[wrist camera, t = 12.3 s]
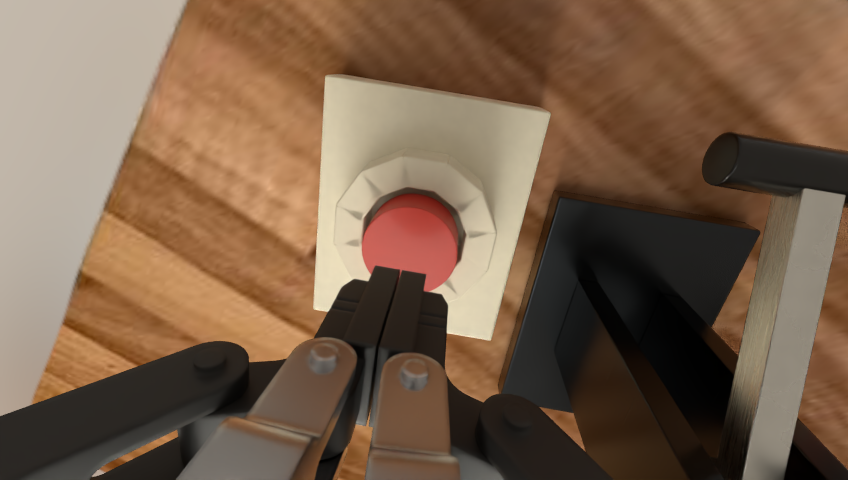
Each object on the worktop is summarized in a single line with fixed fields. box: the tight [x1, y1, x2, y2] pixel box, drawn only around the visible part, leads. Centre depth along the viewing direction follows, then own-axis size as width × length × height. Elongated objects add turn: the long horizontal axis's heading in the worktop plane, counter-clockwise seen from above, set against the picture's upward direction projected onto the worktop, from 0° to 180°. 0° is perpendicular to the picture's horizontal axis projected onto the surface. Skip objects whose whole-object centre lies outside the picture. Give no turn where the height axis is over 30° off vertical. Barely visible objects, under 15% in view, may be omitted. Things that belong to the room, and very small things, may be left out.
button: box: [362, 193, 458, 292], centre depth 16 cm, size 4×4×2 cm
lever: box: [702, 132, 848, 480], centre depth 11 cm, size 12×5×2 cm, turn 171°
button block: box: [313, 74, 551, 340], centre depth 18 cm, size 11×9×4 cm
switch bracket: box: [498, 190, 848, 480], centre depth 16 cm, size 12×9×13 cm
